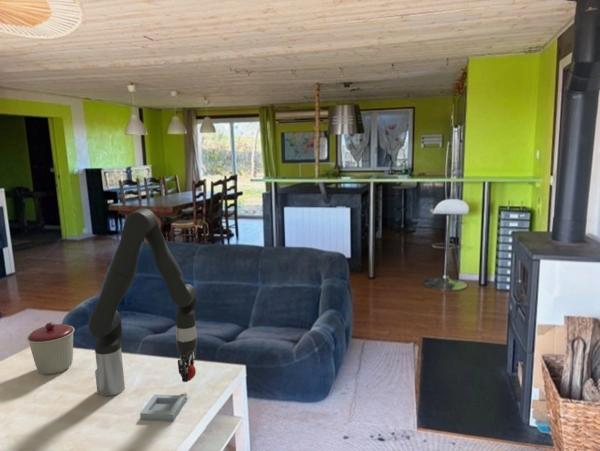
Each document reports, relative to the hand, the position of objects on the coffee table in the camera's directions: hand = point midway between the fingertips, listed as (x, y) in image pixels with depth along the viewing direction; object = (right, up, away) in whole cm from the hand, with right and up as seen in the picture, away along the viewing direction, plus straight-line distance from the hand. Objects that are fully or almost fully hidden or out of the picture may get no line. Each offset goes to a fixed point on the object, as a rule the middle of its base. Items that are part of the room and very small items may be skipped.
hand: (188, 376), depth 176 cm
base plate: (-6, -8, -12) cm, 16 cm away
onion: (0, -2, 0) cm, 2 cm away
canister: (-63, -3, +21) cm, 66 cm away
